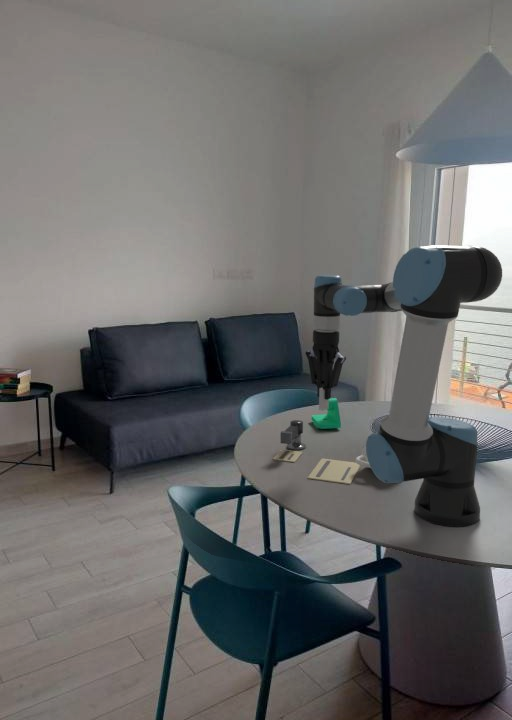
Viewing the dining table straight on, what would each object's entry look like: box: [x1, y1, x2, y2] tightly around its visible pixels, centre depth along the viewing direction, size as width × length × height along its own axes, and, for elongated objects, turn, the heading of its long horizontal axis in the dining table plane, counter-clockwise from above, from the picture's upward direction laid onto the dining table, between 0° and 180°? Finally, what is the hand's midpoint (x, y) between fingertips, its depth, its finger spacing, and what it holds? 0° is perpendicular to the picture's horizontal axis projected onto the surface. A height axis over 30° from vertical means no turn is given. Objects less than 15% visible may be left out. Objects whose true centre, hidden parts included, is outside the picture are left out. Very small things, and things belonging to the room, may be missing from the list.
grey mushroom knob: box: [286, 434, 307, 451], centre depth 189 cm, size 6×6×5 cm
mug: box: [354, 444, 371, 469], centre depth 167 cm, size 12×10×8 cm
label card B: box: [307, 457, 361, 485], centre depth 169 cm, size 16×12×1 cm
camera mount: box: [311, 397, 342, 430], centre depth 211 cm, size 12×8×10 cm, turn 10°
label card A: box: [272, 449, 304, 464], centre depth 181 cm, size 9×7×1 cm
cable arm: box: [280, 419, 304, 445], centre depth 184 cm, size 14×4×4 cm, turn 159°
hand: (323, 409), depth 172 cm, fingers closed
